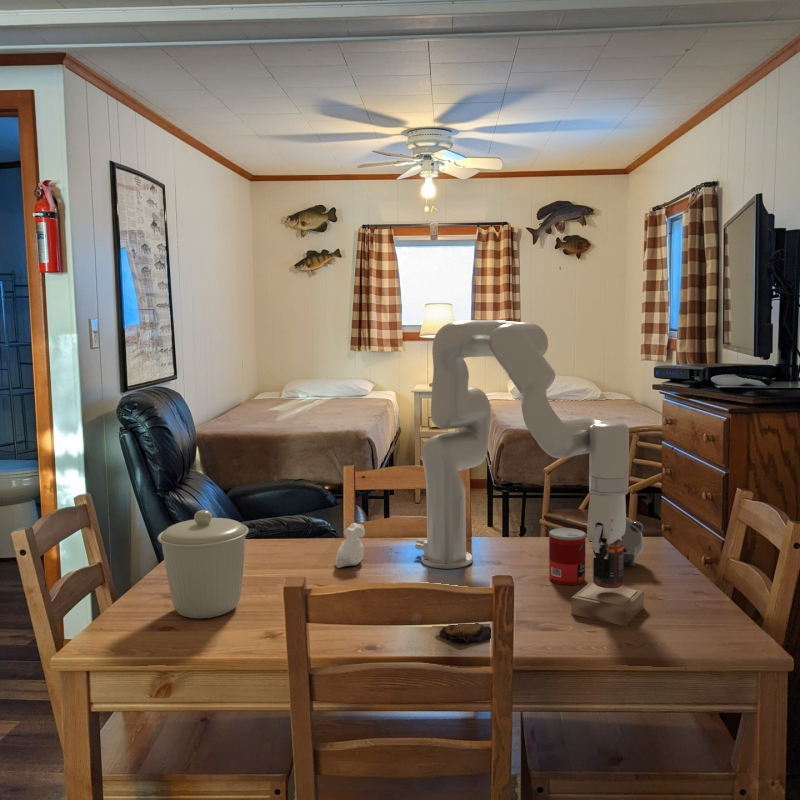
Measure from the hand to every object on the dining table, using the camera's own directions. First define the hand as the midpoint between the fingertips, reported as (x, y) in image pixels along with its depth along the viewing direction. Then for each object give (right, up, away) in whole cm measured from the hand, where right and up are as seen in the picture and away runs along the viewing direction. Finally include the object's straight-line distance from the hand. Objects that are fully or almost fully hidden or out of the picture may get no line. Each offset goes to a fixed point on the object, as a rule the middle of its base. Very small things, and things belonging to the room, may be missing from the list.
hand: (607, 571), depth 149 cm
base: (0, -8, +1) cm, 8 cm away
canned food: (-4, -6, +19) cm, 21 cm away
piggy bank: (+11, -5, +30) cm, 32 cm away
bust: (-54, -6, +34) cm, 64 cm away
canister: (-82, -9, +6) cm, 82 cm away
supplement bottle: (0, -3, 0) cm, 3 cm away
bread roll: (-29, -10, -10) cm, 32 cm away
